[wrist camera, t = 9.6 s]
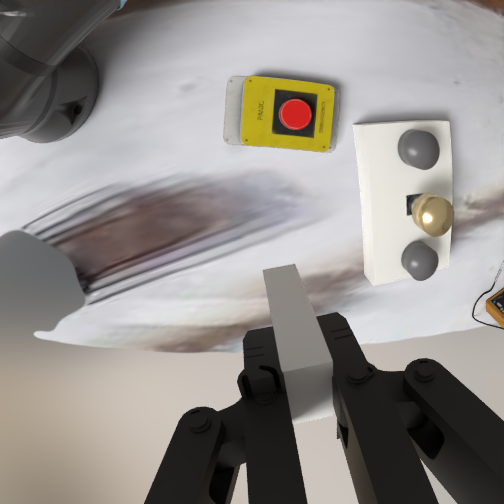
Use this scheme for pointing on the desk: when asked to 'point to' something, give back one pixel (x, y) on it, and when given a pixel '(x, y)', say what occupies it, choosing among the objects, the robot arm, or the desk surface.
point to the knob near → (418, 149)
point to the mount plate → (397, 195)
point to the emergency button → (281, 114)
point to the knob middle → (431, 213)
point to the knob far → (419, 260)
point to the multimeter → (495, 305)
